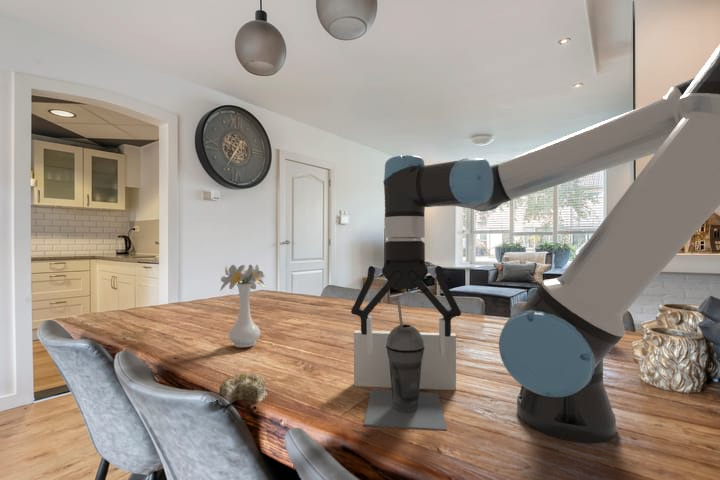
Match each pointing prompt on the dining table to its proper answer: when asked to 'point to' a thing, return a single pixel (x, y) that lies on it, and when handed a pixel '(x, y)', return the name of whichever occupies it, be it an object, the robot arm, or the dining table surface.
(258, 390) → the cake
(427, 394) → the mat
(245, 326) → the flower vase
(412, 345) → the beverage cup
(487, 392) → the dining table surface
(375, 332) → the screen
